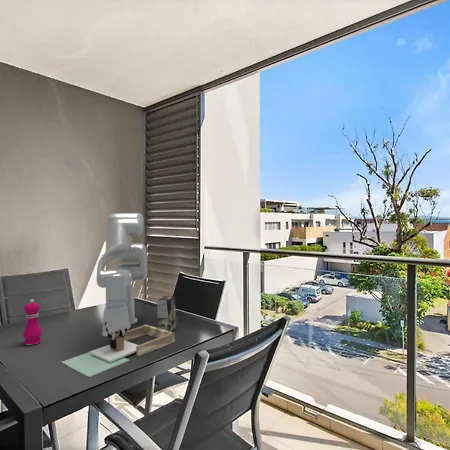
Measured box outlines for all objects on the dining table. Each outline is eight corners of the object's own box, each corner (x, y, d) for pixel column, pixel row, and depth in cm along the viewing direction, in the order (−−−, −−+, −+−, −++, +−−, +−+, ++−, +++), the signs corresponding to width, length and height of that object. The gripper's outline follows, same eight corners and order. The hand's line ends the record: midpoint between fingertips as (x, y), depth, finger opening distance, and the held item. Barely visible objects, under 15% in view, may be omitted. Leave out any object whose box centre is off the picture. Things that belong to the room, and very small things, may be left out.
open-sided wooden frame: (109, 345, 147) (109, 336, 147) (146, 332, 163) (145, 324, 163) (138, 356, 135) (138, 347, 135) (174, 341, 151) (174, 333, 151)
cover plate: (89, 353, 136) (89, 339, 136) (123, 341, 149) (122, 328, 149) (110, 362, 128) (109, 347, 128) (143, 348, 141) (143, 335, 140)
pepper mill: (45, 341, 153) (44, 298, 152) (31, 347, 146) (30, 301, 146) (33, 339, 155) (32, 296, 155) (19, 345, 149) (18, 300, 148)
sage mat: (61, 363, 130) (61, 362, 130) (100, 348, 143) (100, 348, 143) (89, 377, 118) (89, 376, 118) (129, 360, 131) (129, 359, 131)
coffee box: (169, 333, 162) (169, 300, 161) (157, 332, 163) (156, 299, 163) (176, 327, 171) (175, 295, 170) (164, 326, 172) (163, 295, 172)
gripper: (127, 297, 147) (127, 339, 147) (92, 305, 134) (93, 351, 134) (138, 300, 142) (138, 342, 143) (103, 308, 129) (104, 355, 129)
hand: (117, 346), depth 138 cm, fingers closed on cover plate, 3 cm apart
